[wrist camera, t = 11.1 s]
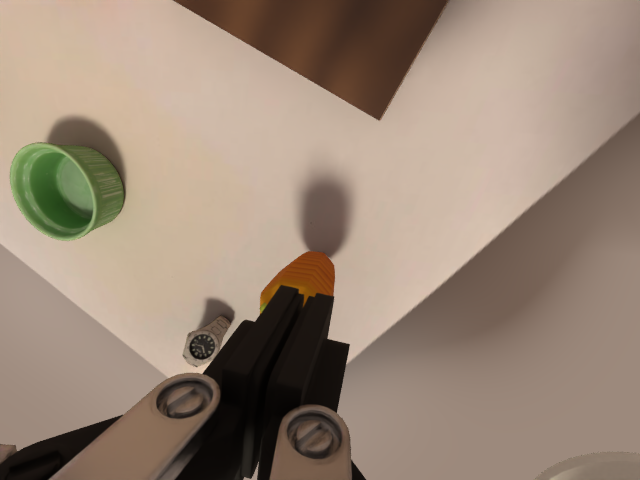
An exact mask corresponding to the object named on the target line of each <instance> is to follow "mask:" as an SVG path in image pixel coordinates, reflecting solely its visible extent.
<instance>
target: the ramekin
mask: <svg viewBox="0 0 640 480" xmlns="http://www.w3.org/2000/svg"><path fill="white" fill-rule="evenodd" d="M10 184H11V189H12V193H13V196H14V199H15V201H16V203H17V206H18V207H19V209H20V211H21V212H22V214H23V215H24V216H25V218H26V219H27V220H28V221H29V222H30V223H31V224H32V225H33V226H34V227H35V228H36V229H37V230H39V231H40V232H41V233H43V234H45V235H47V236H49V237H51V238H54V239H57V240H63V241H70V240H75V239H79V238H81V237H83V236H85V235H86V234H88V233H89V232H90V231H92V230H94V229H96V228H98V227H100V226H103V225H105V224H107V223H109V222H111V221H112V220H113V219H115V218H116V216H117V215H118V214H119V212H120V210H121V208H122V205H123V199H124V192H123V186H122V182H121V179H120V177H119V175H118V173H117V171H116V169H115V168H114V166H113V165H112V164H111V163H110V161H109V160H108V159H107V158H105V157H104V156H103V155H102V154H101V153H99V152H97V151H96V150H94V149H91V148H88V147H84V146H73V145H56V144H51V143H42V142H40V143H32V144H29V145H27V146H25V147H23V148H22V149H21V150H20V151H19V152H18V153H17V154H16V156H15V157H14V159H13V161H12V165H11V169H10Z"/></svg>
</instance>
